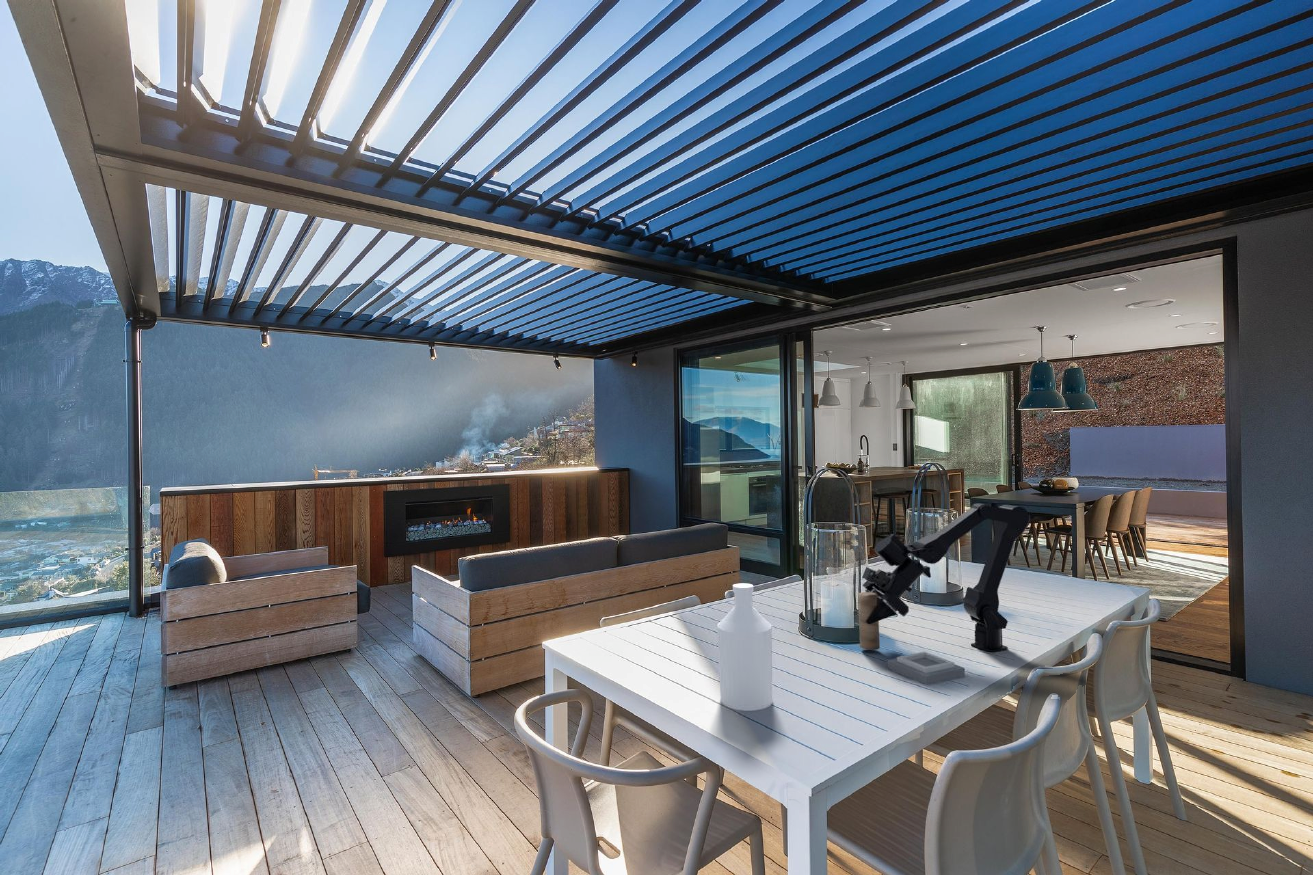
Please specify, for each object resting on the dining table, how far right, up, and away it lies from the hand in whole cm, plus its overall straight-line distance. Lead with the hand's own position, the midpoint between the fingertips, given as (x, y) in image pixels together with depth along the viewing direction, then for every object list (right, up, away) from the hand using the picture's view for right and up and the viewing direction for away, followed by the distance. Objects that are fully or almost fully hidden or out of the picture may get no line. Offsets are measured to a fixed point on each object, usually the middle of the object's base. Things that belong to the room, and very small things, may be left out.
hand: (863, 620), depth 163 cm
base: (+9, -8, -16) cm, 20 cm away
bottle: (-36, -9, -30) cm, 47 cm away
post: (+2, -7, 0) cm, 7 cm away
